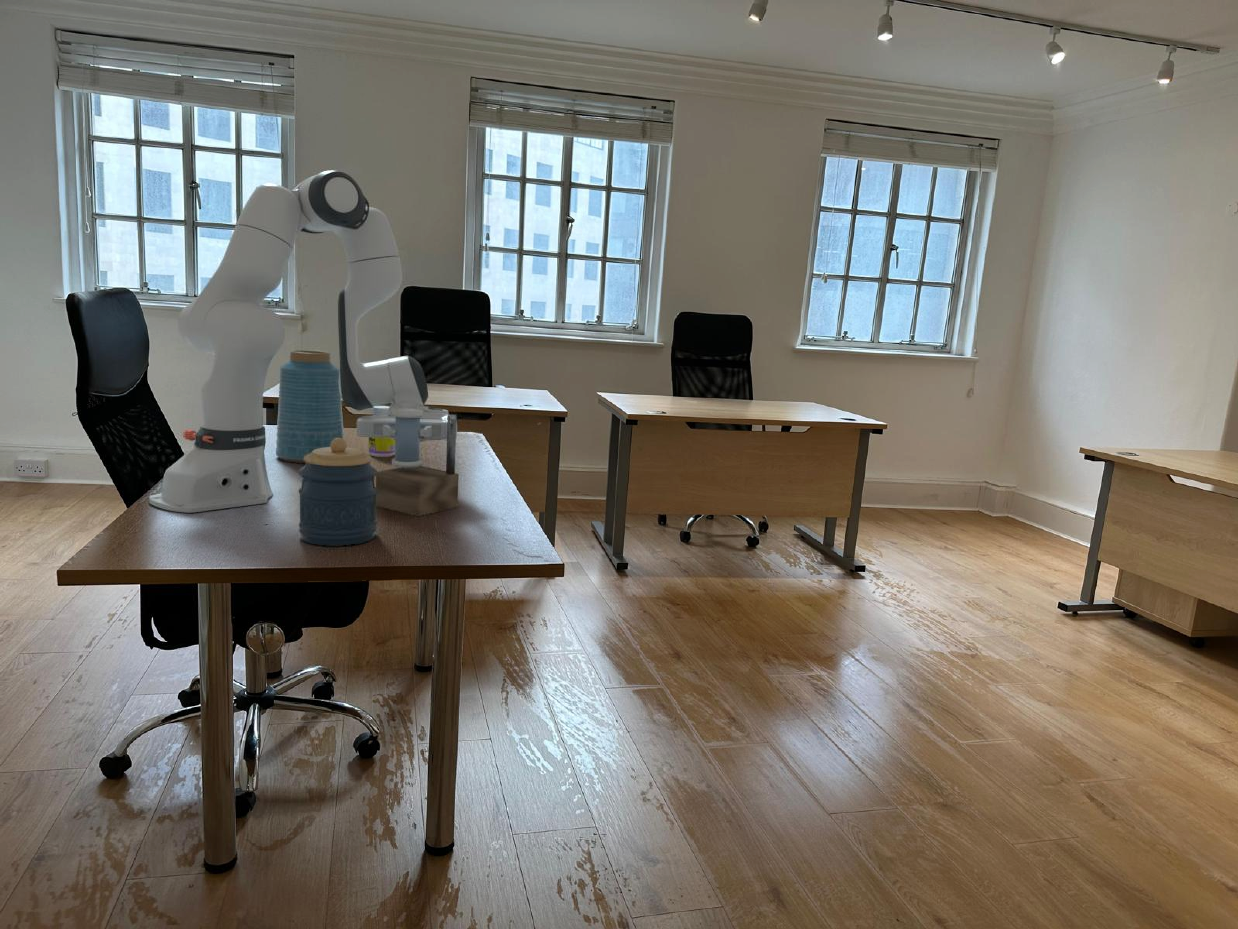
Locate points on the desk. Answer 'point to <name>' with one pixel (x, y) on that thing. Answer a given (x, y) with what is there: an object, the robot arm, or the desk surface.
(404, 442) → the cord spool
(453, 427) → the hook post
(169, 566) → the desk surface
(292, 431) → the vase
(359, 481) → the canister
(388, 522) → the desk surface
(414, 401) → the robot arm
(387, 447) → the supplement bottle
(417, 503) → the walnut shelf block
